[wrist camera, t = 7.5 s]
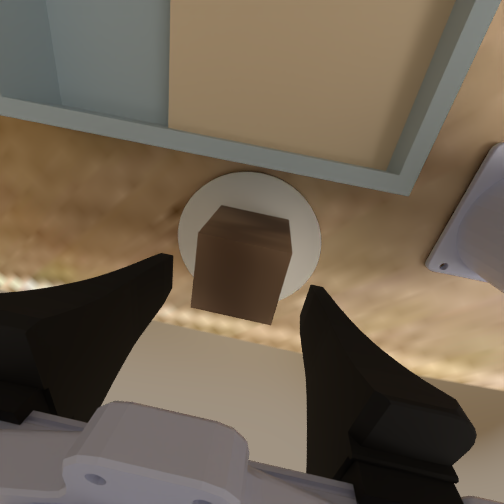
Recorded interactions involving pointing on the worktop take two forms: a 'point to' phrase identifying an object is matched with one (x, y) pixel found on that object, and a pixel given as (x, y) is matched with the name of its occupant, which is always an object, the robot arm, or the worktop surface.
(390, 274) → the worktop surface
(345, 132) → the caddy
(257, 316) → the block
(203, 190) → the coaster
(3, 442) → the robot arm
